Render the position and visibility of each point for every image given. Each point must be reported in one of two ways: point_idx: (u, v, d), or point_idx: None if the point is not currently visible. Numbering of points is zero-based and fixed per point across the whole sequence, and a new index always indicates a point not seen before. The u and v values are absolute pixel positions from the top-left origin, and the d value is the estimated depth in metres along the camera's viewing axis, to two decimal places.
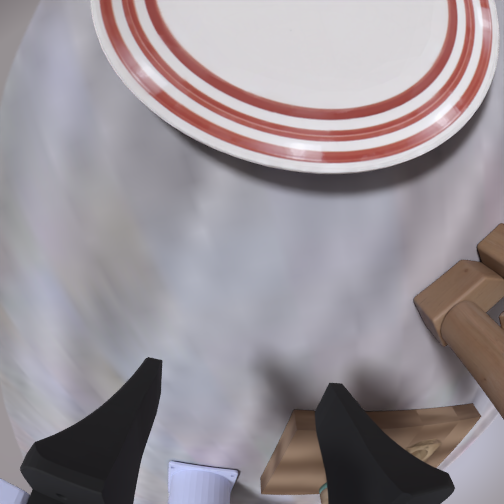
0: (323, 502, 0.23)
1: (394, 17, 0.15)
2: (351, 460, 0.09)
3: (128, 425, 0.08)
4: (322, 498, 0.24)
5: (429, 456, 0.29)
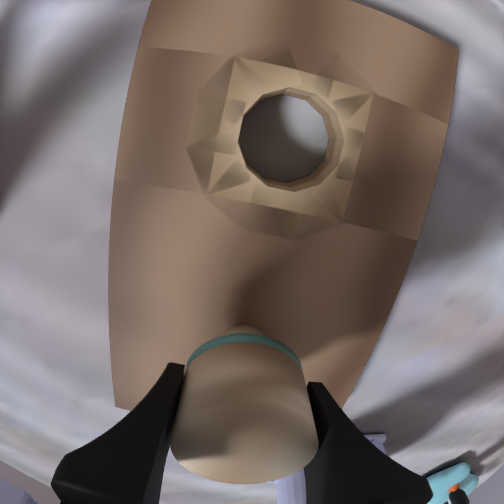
0: None
1: None
2: (327, 461, 0.09)
3: (158, 432, 0.08)
4: None
5: (307, 73, 0.11)
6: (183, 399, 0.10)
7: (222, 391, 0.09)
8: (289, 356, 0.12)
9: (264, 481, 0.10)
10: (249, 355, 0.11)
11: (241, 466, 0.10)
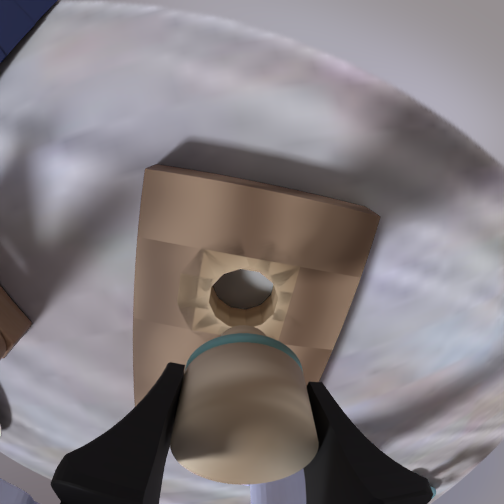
0: None
1: None
2: (327, 461, 0.09)
3: (159, 432, 0.08)
4: None
5: (252, 259, 0.19)
6: (183, 399, 0.10)
7: (222, 392, 0.09)
8: (289, 356, 0.12)
9: (264, 481, 0.10)
10: (249, 355, 0.11)
11: (241, 466, 0.10)
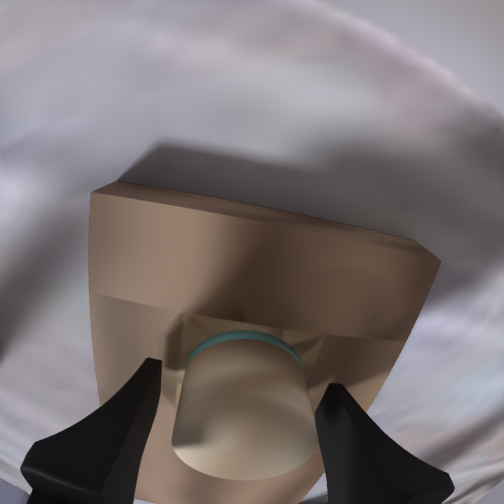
0: None
1: None
2: (351, 460, 0.09)
3: (128, 425, 0.08)
4: None
5: (257, 326, 0.13)
6: (184, 395, 0.10)
7: (223, 387, 0.10)
8: (289, 353, 0.12)
9: (264, 477, 0.11)
10: (249, 352, 0.11)
11: (241, 462, 0.10)
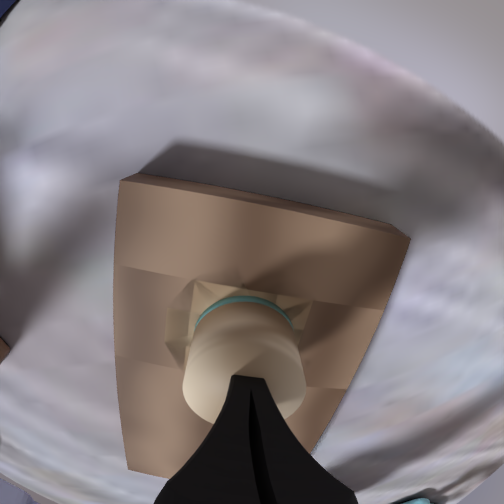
0: None
1: None
2: (254, 459, 0.09)
3: (247, 446, 0.08)
4: None
5: (255, 292, 0.15)
6: (194, 347, 0.13)
7: (227, 335, 0.12)
8: (282, 315, 0.15)
9: None
10: (248, 310, 0.14)
11: None
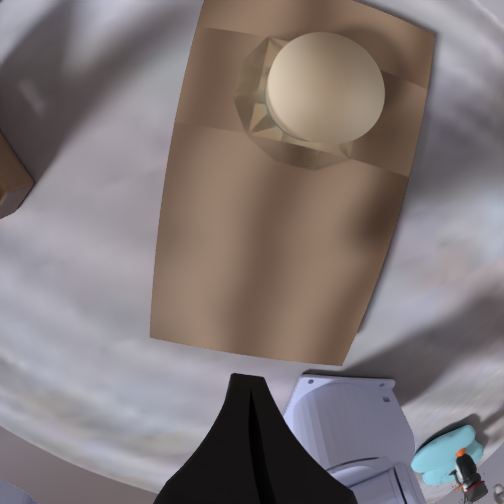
0: (309, 141, 0.15)
1: None
2: (254, 459, 0.09)
3: (246, 445, 0.08)
4: (308, 141, 0.15)
5: None
6: None
7: None
8: None
9: (346, 139, 0.13)
10: None
11: (327, 107, 0.12)
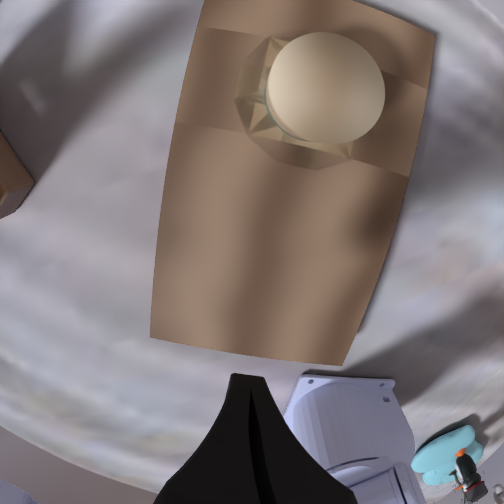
0: (310, 141, 0.15)
1: None
2: (254, 459, 0.09)
3: (246, 446, 0.08)
4: (309, 141, 0.15)
5: None
6: None
7: None
8: None
9: (346, 139, 0.13)
10: None
11: (327, 107, 0.12)
